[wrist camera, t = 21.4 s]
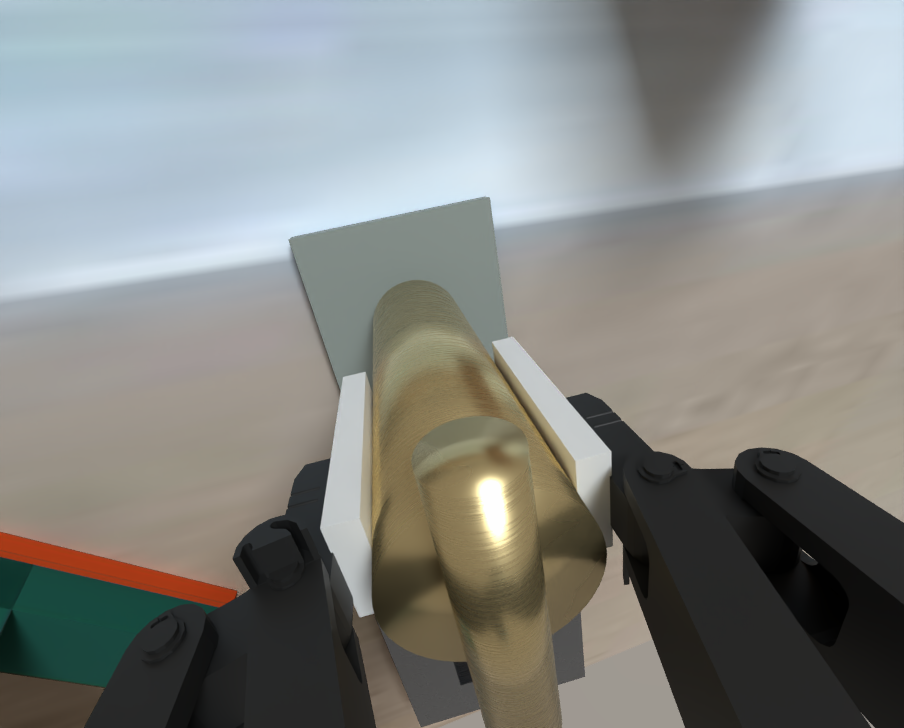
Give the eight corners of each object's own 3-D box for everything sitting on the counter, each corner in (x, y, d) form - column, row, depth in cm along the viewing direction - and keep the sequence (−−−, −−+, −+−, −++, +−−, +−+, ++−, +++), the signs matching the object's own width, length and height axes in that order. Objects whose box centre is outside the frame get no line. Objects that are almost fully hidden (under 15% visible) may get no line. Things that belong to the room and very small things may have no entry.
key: (391, 392, 22) (423, 799, 8) (355, 264, 19) (297, 539, 5) (470, 373, 23) (642, 729, 8) (446, 244, 20) (655, 443, 5)
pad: (349, 405, 25) (348, 413, 24) (292, 237, 21) (288, 240, 20) (507, 366, 26) (512, 373, 25) (484, 196, 22) (489, 197, 21)
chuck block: (416, 673, 37) (421, 727, 34) (376, 569, 31) (376, 620, 28) (565, 629, 38) (584, 676, 35) (554, 519, 32) (577, 563, 29)
